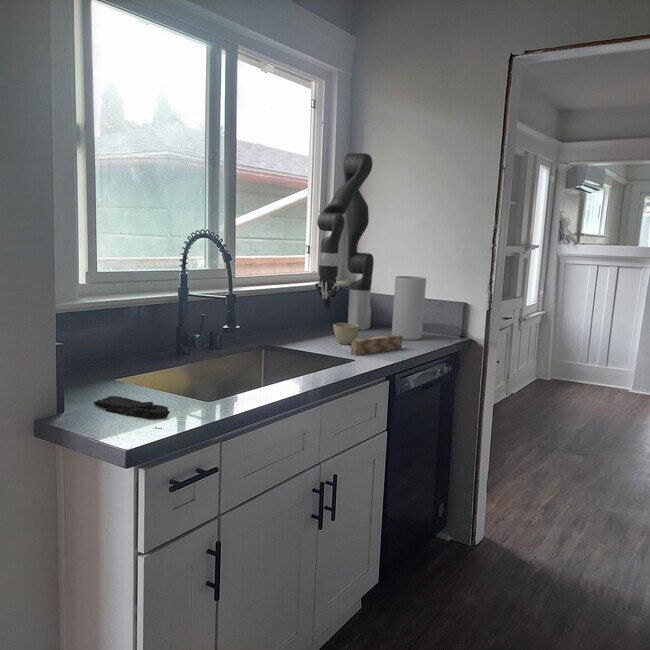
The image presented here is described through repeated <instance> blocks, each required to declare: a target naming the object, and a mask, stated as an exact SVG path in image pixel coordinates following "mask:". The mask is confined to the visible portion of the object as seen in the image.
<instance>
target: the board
mask: <svg viewBox="0 0 650 650" xmlns="http://www.w3.org/2000/svg"><path fill="white" fill-rule="evenodd" d="M350 345H351V347H350V348H351V349H350V354H351V355H352V354H353V356H360V355H361V354H362V355H368V353H369V354H374V353H382V352H389V351H395V350H396V349H397V350H401V349H403V346H402V345H403V339H402V336H401V335H392V334H391V335H384V336H372V337H367V338H360V339H359V338H357V339H355V340H352V344H350Z"/></svg>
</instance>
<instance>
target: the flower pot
mask: <svg viewBox="0 0 650 650" xmlns="http://www.w3.org/2000/svg"><path fill="white" fill-rule="evenodd" d="M333 332H334V336H335V337H336V338H335V339H336V340H337V342H338V344H341V345H351V344H352V340H356V338H357V336H358V333H359V325H356V324H349V323H348V322H346V323H345V322H338V323H334V324H333Z"/></svg>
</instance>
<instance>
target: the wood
mask: <svg viewBox="0 0 650 650" xmlns="http://www.w3.org/2000/svg"><path fill="white" fill-rule="evenodd" d="M92 403H93V404H95V406H97V407H101V408H104V409H105V412H108V413H111V414H117V415H121V416H126V417H133V418H135V417H136V418H142V419H146V420H161V419H165V418H167V417H168V416H169V414H170V410H169V408H168V407H167V406H165V405H162V404H161V405H159V404H154V402H153V401H143V402H142V401H140V400H135V399H131V398H127V397H122V396H119V395H110V396H107V397H105V398H102V399H97V400H96V401H93V402H92Z"/></svg>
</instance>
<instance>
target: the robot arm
mask: <svg viewBox="0 0 650 650" xmlns="http://www.w3.org/2000/svg"><path fill="white" fill-rule="evenodd" d="M372 169H373V158H372V156H371V155H370V154H369V153H364V152H362V153H361V152H359V153H356V152H348V153H347V154H346V155H345V156H344V158H343V176H344V184H342V185H341V186H340V187H339V188H338V189H337V190H336V191H335V193H334V195H333V197H332V199H331V202H330V203H328V205H327V206H325V208H324V209H323V210H322V211H321V212H320V214H319V215H318V217H317V222H316V224H317V227H318V229H319V230H320V231H323V232H331V233H330V235H329V236H326V237H323V238H321V241H320V255H319V262H318V277H320V278H319V282H318V283H315V284H314V285H315V288H316V290H317V293H318V296H319V297H322V307H323V309H327V310H328V309H330V308H331V301H332V300H331V299H334V298H335V297H336V296H337V295H338V293H339V291H340V289H341V286H340V285H338V284H337V277H338V274H339V260H340V259H339V247H340V246H339V245H340V240H341V237H342V233H343V231H344V227H345V224H346V223H347V225H346V226H347V256H346V259H347V262H346V263H347V270H348V272H349V273H350V274H355V275H356V274H357V275H358V274H359V275H362V277H361V278H360V279H357V280H354V281H352V282H350V283H349V295H348V314H347V315H348V316H347V323H349V324H356V325H359V330H363V331H364V330H368V329H370V328H371V319H372V317H371V316H372V307H371V290H372V288H371V287H372V282H373V271H374V264H375V262H374V256H373V254H371V253H369V252H358V245H359V242H360V240H361V238H362V236H363V234H364V233H365V231H366V230H367V228H368V225H369V219H370V218H369V213H370V212H369V206H368V203H367V201H366V200H365V198H364V196H363V194H361V192H360V190H359V189H360V188H361V187H362V185H363V184H364V182H365V181H366V180H367V179H368V177H369V176H370V174H371V172H372ZM344 214H346V223H345V217H344V216H343V215H344ZM359 330H358V331H359Z"/></svg>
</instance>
